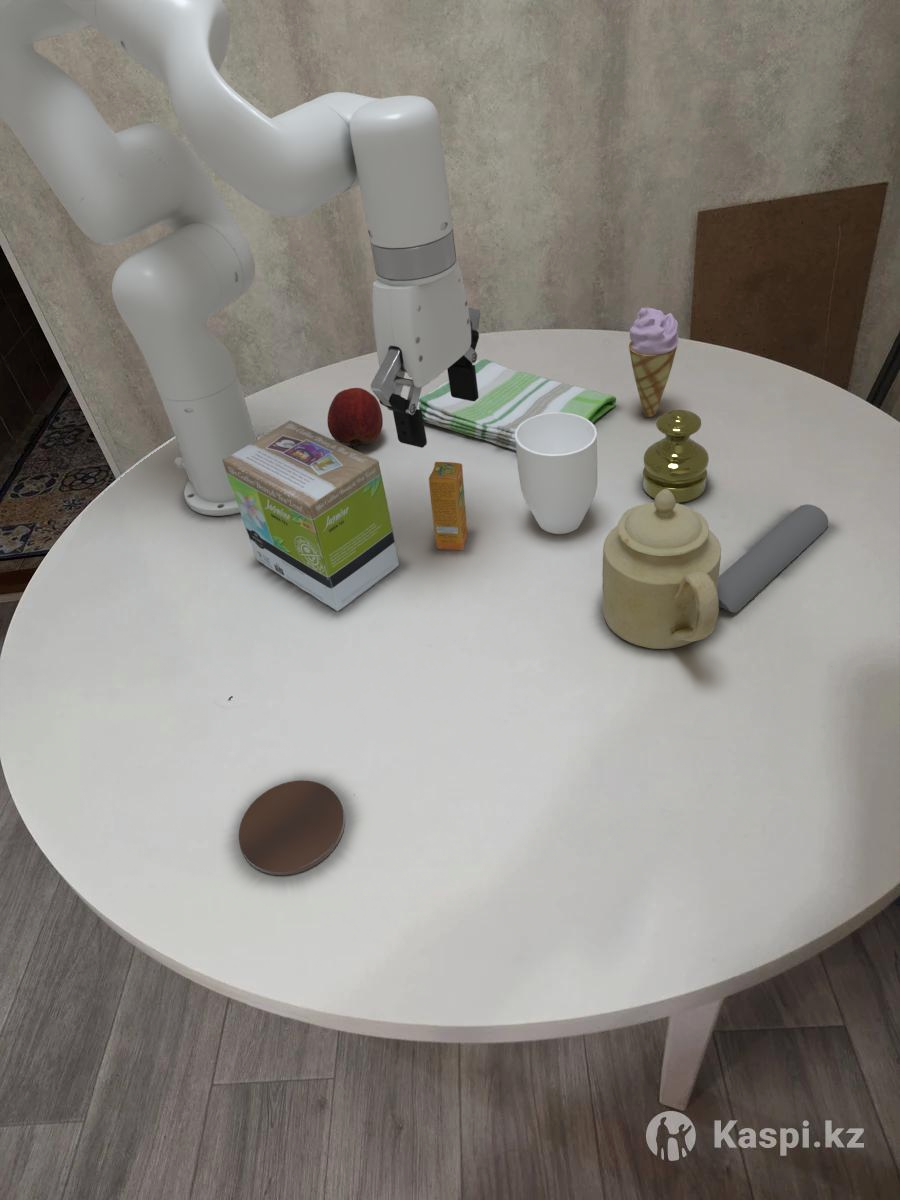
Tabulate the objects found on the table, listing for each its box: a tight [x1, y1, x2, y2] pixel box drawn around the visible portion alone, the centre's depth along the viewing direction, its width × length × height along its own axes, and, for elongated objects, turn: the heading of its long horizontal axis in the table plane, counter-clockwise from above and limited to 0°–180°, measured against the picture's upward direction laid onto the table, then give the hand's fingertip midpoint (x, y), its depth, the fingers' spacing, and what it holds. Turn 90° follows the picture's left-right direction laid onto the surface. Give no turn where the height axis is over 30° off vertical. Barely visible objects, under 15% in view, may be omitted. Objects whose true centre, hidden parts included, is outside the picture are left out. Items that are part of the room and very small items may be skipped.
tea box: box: [222, 419, 400, 612], centre depth 95 cm, size 15×10×15 cm, turn 47°
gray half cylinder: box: [717, 504, 829, 614], centre depth 91 cm, size 4×20×2 cm, turn 134°
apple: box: [326, 387, 384, 449], centre depth 117 cm, size 7×8×8 cm
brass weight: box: [642, 408, 710, 504], centre depth 100 cm, size 7×7×10 cm
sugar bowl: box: [601, 489, 722, 650], centre depth 82 cm, size 15×11×15 cm
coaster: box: [238, 779, 346, 876], centre depth 73 cm, size 9×9×1 cm
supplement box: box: [428, 461, 468, 551], centre depth 97 cm, size 3×3×10 cm
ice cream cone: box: [628, 307, 679, 418], centre depth 112 cm, size 7×6×15 cm
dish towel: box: [418, 358, 617, 451], centre depth 119 cm, size 17×23×4 cm
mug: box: [515, 412, 598, 535], centre depth 98 cm, size 12×9×12 cm
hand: (439, 420), depth 90 cm, fingers open, 9 cm apart
